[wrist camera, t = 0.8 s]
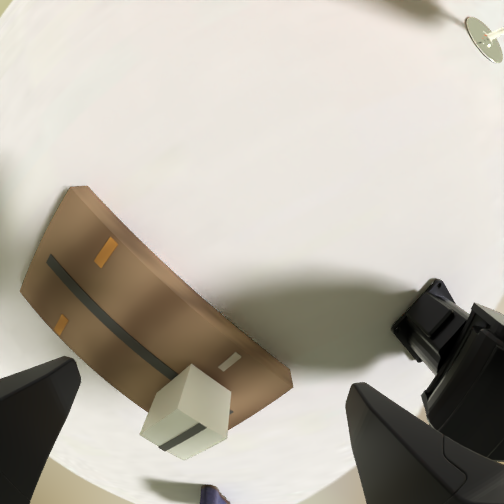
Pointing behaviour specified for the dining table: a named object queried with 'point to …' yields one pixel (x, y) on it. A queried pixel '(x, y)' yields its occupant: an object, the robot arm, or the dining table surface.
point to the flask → (212, 495)
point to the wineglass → (485, 39)
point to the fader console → (139, 313)
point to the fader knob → (188, 414)
